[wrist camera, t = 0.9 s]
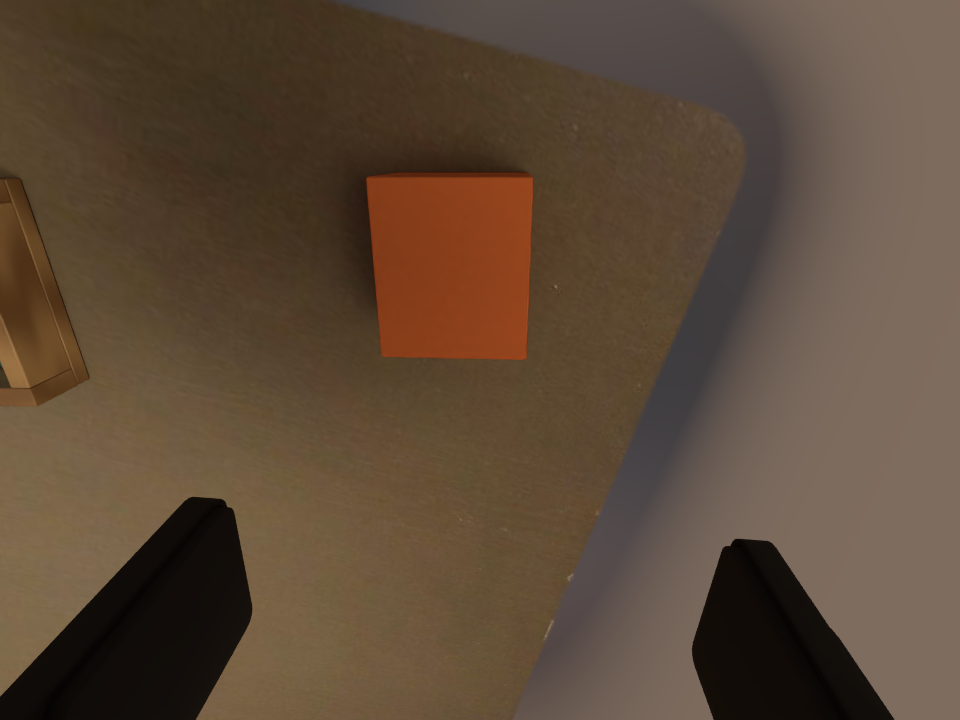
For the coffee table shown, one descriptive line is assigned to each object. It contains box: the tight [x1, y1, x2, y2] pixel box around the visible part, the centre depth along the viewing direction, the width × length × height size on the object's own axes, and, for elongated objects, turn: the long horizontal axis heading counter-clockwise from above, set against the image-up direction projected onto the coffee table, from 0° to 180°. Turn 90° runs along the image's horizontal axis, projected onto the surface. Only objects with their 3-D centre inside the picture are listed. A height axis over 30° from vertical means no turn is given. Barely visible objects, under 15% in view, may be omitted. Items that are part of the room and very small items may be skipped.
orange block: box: [366, 172, 533, 360], centre depth 21 cm, size 7×6×5 cm
